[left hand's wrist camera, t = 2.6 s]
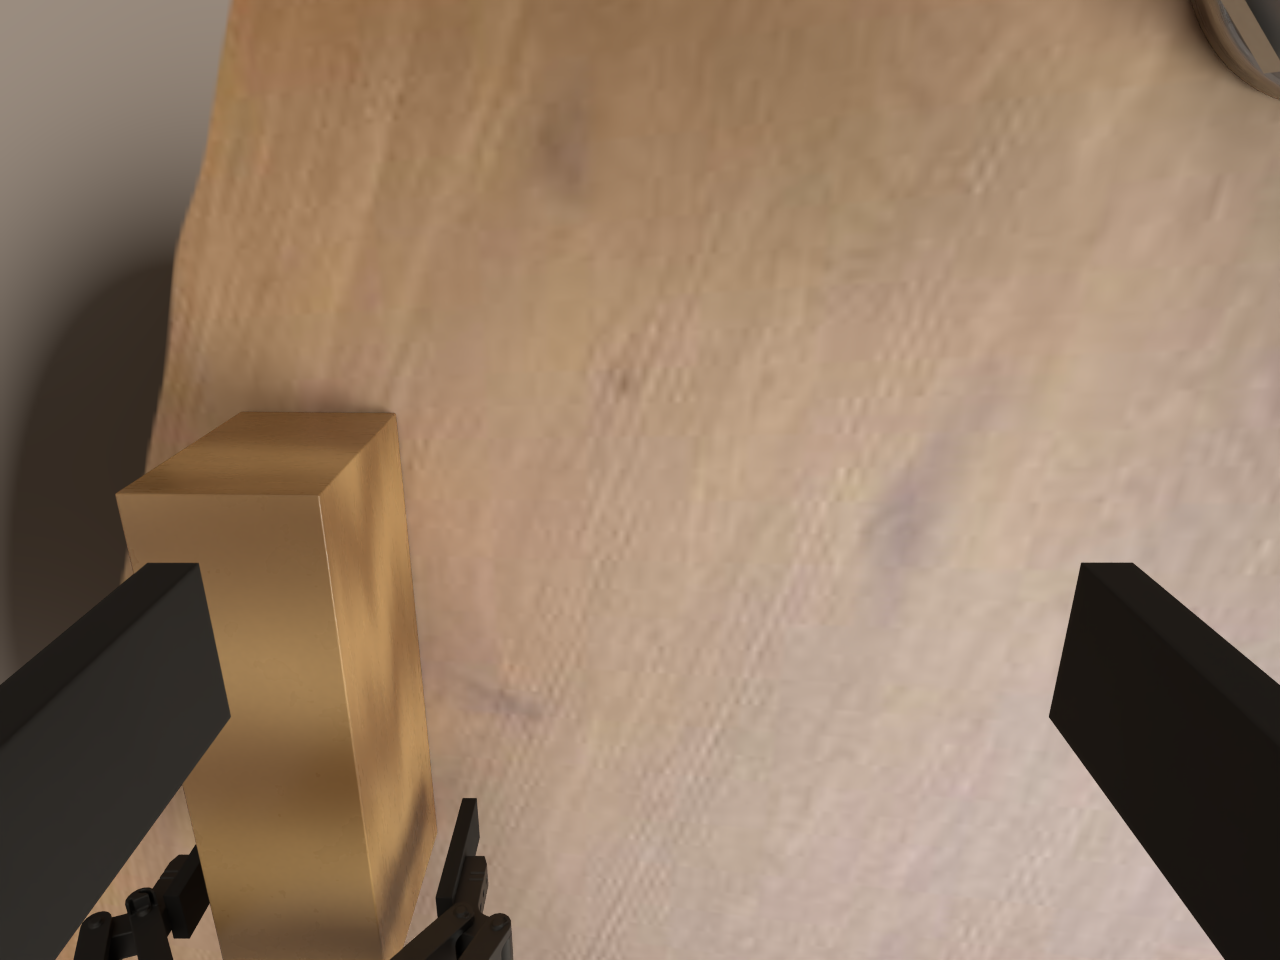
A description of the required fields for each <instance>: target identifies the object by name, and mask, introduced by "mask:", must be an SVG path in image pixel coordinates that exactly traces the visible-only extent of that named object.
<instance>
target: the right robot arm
mask: <svg viewBox="0 0 1280 960" xmlns="http://www.w3.org/2000/svg"><path fill="white" fill-rule="evenodd" d="M479 838H480V835H479V822H478V809H477V798H463V799H462V803H461V806H460V810H459V814H458V817H457V821H456V825H455V828H454V832H453V836H452V839H451V843H450V847H449V850H448V854H447V858H446V861H445V865H444V869H443V872H442V876H441V880H440V883H439V887H438V891H437V894H436V906H437V916H438V918H437V919H436V920H435V921H434V922H433V923H431V924H430V925H429V926H428V927H427V928H426V929H425V930H423V931H422V932H421V933H420V934H419V935H418V936H416V937H415V938H414V939H413V940H412V941H411V942H409V943H408V944H407V945H406V946H405V947H404V948H402V949H401V950H400V951H399V952H398V953H397V954H396V955H394V956H393V957H392V958H391V959H390V960H513V946H512V931H511V920H510V918H509V917H508V916H507V915H505V914H502V913H498V914H494V915H492V916H490V917H488V916H486V915H484V914H482V913H483V909H484V904H485V899H486V894H487V889H488V874H487V863H486V860H485V856H475V855H476V851H477V847H478V842H479ZM209 904H210V901H209V897H208V893H207V888H206V884H205V880H204V875H203V871H202V867H201V862H200V858H199V854H198V850H197V845H195V846H194V848H193V849H192V851H191V853H190V854H189V855H178V856H177V857H176V858H175V859H173V860H172V861H171V862H170V863H169V865H168V866H167V868H166V869H165V871H164V873H163V874H162V875H161V877H160V879H159V880H158V881H157V883H156V884H155V886H154V887H153V889H152V888H141V889H138V890H136V891H134V892H133V893H132V894H130V895H129V896H128V898H127V899H126V902H125V906H126V909H127V914H124V915H120V916H116V917H112V916H111V914H110V913H109V912H105V911H102V912H97V913H95V914H92V915H91V916H89V917H88V918H86V920H85V921H84V922H83V923H82V925H81V928H80V932H79V937H78V941H77V946H76V951H75V955H74V960H122V959H124V958H128V957H131V956H135V955H137V956H138V960H173V957H172V953H171V950H170V946H169V942H168V938H167V937H168V935H169V933H170V932H171V930H172V933H173V937H174V938H189V939H190V937H191V935H192V933H193V932H194V930H195V928H196V926H197V925H198V923H199V921H200V919H201V918H202V916H203V914H204V912H205V911H206V909H207V907H208V905H209Z"/></svg>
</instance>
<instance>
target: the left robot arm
mask: <svg viewBox="0 0 1280 960" xmlns="http://www.w3.org/2000/svg"><path fill="white" fill-rule="evenodd" d="M1191 2H1192V6H1193V9H1194V12H1195V14H1196V17H1197V19H1198V22H1199V24H1200V27H1201V29H1202V30H1203V32H1204V34H1205V36H1206V38H1207V40H1208V42H1209V43H1210V45H1211V46H1212V48H1213V49H1214V50H1215V52H1216V53H1217V55H1218V56H1219V57H1220V58H1221V60H1222V61H1223V62H1224V63H1225V64H1226V65H1227V66H1228V68H1229V69H1230V70H1232V71H1233V72H1234V73H1235V74H1236V75H1237V76H1238V77H1240V78H1241V79H1242V80H1243V81H1245V82H1246V83H1248V84H1249V85H1251V86H1252V87H1254V88H1255V89H1257V90H1259V91H1261V92H1263V93H1265V94H1267V95H1269V96H1271V97H1274V98H1276V99H1279V100H1280V0H1191ZM230 718H231V714H230V709H229V704H228V700H227V695H226V690H225V685H224V680H223V676H222V671H221V666H220V661H219V657H218V652H217V647H216V642H215V638H214V633H213V628H212V623H211V619H210V614H209V609H208V604H207V600H206V595H205V590H204V585H203V581H202V576H201V571H200V566H199V563H146V564H145V565H144V566H143V567H142V568H140V569H139V570H138V571H137V572H136V573H134V574H133V575H132V576H131V577H130V578H128V579H127V580H126V581H125V582H124V583H122V584H121V585H120V586H119V587H118V588H116V589H115V590H114V591H113V592H112V593H110V594H109V595H108V596H107V597H106V598H104V599H103V600H102V601H101V602H100V603H98V604H97V605H96V606H95V607H94V608H92V609H91V610H90V611H89V612H88V613H86V614H85V615H84V616H83V617H82V618H80V619H79V620H78V621H77V622H76V623H74V624H73V625H72V626H71V627H69V628H68V629H67V630H66V631H65V632H64V633H62V634H61V635H60V636H59V637H58V638H56V639H55V640H54V641H53V642H51V643H50V644H49V645H48V646H47V647H45V648H44V649H43V650H42V651H41V652H39V653H38V654H37V655H36V656H35V657H33V658H32V659H31V660H30V661H29V662H27V663H26V664H25V665H24V666H23V667H21V668H20V669H19V670H18V671H17V672H15V673H14V674H13V675H12V676H11V677H9V678H8V679H7V680H6V681H5V682H3V683H2V684H1V685H0V960H55V959H56V958H57V956H58V955H59V954H60V952H61V951H62V950H63V948H64V947H65V945H66V944H67V943H68V941H69V940H70V939H71V937H72V936H73V934H74V933H75V932H76V930H77V929H78V927H79V926H80V925H81V923H82V922H83V921H84V919H85V918H86V916H87V915H88V914H89V912H90V911H91V910H92V908H93V907H94V905H95V904H96V903H97V901H98V900H99V899H100V897H101V896H102V894H103V893H104V892H105V890H106V889H107V887H108V886H109V885H110V883H111V882H112V881H113V879H114V878H115V876H116V875H117V874H118V872H119V871H120V870H121V868H122V867H123V865H124V864H125V863H126V861H127V860H128V858H129V857H130V856H131V854H132V853H133V852H134V850H135V849H136V847H137V846H138V845H139V843H140V842H141V841H142V839H143V838H144V836H145V835H146V834H147V832H148V831H149V830H150V828H151V827H152V825H153V824H154V823H155V821H156V820H157V818H158V817H159V816H160V814H161V813H162V812H163V810H164V809H165V807H166V806H167V805H168V803H169V802H170V801H171V799H172V798H173V796H174V795H175V794H176V792H177V791H178V789H179V788H180V787H181V785H182V784H183V783H184V781H185V780H186V778H187V777H188V776H189V774H190V773H191V772H192V770H193V769H194V767H195V766H196V765H197V763H198V762H199V761H200V759H201V758H202V756H203V755H204V754H205V752H206V751H207V749H208V748H209V747H210V745H211V744H212V743H213V741H214V740H215V738H216V737H217V736H218V734H219V733H220V732H221V730H222V729H223V727H224V726H225V725H226V723H227V722H228V721H229V719H230ZM1049 718H1050V719H1051V721H1052V722H1053V723H1054V725H1055V726H1056V727H1057V729H1058V730H1059V732H1060V733H1061V734H1062V736H1063V737H1064V738H1065V740H1066V741H1067V743H1068V744H1069V745H1070V747H1071V748H1072V749H1073V751H1074V752H1075V754H1076V755H1077V756H1078V758H1079V759H1080V761H1081V762H1082V763H1083V765H1084V766H1085V767H1086V769H1087V770H1088V772H1089V773H1090V774H1091V776H1092V777H1093V778H1094V780H1095V781H1096V783H1097V784H1098V785H1099V787H1100V788H1101V789H1102V791H1103V792H1104V794H1105V795H1106V796H1107V798H1108V799H1109V801H1110V802H1111V803H1112V805H1113V806H1114V807H1115V809H1116V810H1117V812H1118V813H1119V814H1120V816H1121V817H1122V818H1123V820H1124V821H1125V823H1126V824H1127V825H1128V827H1129V828H1130V830H1131V831H1132V832H1133V834H1134V835H1135V836H1136V838H1137V839H1138V841H1139V842H1140V843H1141V845H1142V846H1143V847H1144V849H1145V850H1146V852H1147V853H1148V854H1149V856H1150V857H1151V858H1152V860H1153V861H1154V863H1155V864H1156V865H1157V867H1158V868H1159V870H1160V871H1161V872H1162V874H1163V875H1164V876H1165V878H1166V879H1167V881H1168V882H1169V883H1170V885H1171V886H1172V887H1173V889H1174V890H1175V892H1176V893H1177V894H1178V896H1179V897H1180V899H1181V900H1182V901H1183V903H1184V904H1185V905H1186V907H1187V908H1188V910H1189V911H1190V912H1191V914H1192V915H1193V916H1194V918H1195V919H1196V921H1197V922H1198V923H1199V925H1200V926H1201V927H1202V929H1203V930H1204V932H1205V933H1206V934H1207V936H1208V937H1209V939H1210V940H1211V941H1212V943H1213V944H1214V945H1215V947H1216V948H1217V950H1218V951H1219V952H1220V954H1221V955H1222V956H1223V958H1224V959H1225V960H1280V685H1279V684H1278V683H1277V682H1275V681H1274V680H1273V679H1272V678H1271V677H1269V676H1268V675H1267V674H1266V673H1265V672H1263V671H1262V670H1261V669H1260V668H1259V667H1257V666H1256V665H1255V664H1254V663H1253V662H1251V661H1250V660H1249V659H1248V658H1247V657H1245V656H1244V655H1243V654H1242V653H1241V652H1239V651H1238V650H1237V649H1236V648H1235V647H1233V646H1232V645H1231V644H1230V643H1229V642H1227V641H1226V640H1225V639H1224V638H1223V637H1221V636H1220V635H1219V634H1218V633H1217V632H1215V631H1214V630H1213V629H1212V628H1211V627H1209V626H1208V625H1207V624H1206V623H1205V622H1203V621H1202V620H1201V619H1200V618H1199V617H1197V616H1196V615H1195V614H1194V613H1193V612H1191V611H1190V610H1189V609H1188V608H1186V607H1185V606H1184V605H1183V604H1182V603H1180V602H1179V601H1178V600H1177V599H1176V598H1174V597H1173V596H1172V595H1171V594H1170V593H1168V592H1167V591H1166V590H1165V589H1164V588H1162V587H1161V586H1160V585H1159V584H1158V583H1156V582H1155V581H1154V580H1153V579H1152V578H1150V577H1149V576H1148V575H1147V574H1146V573H1144V572H1143V571H1142V570H1141V569H1140V568H1138V567H1137V566H1136V565H1135V564H1134V563H1081V566H1080V571H1079V576H1078V581H1077V585H1076V590H1075V595H1074V600H1073V604H1072V609H1071V614H1070V619H1069V623H1068V628H1067V633H1066V638H1065V642H1064V647H1063V652H1062V657H1061V661H1060V666H1059V671H1058V676H1057V680H1056V685H1055V690H1054V695H1053V699H1052V704H1051V709H1050V714H1049Z"/></svg>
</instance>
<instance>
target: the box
mask: <svg viewBox="0 0 1280 960" xmlns="http://www.w3.org/2000/svg"><path fill="white" fill-rule="evenodd" d="M116 500H117V504H118V509H119V513H120V517H121V521H122V526H123V530H124V534H125V539H126V543H127V548H128V552H129V556H130V560H131V565H132V569H133V573H136V572H137V571H138V570H139V569H140V568H142V567H143V566H144V565H145V564H146V563H199V566H200V571H201V576H202V581H203V585H204V590H205V595H206V600H207V604H208V609H209V614H210V619H211V623H212V628H213V633H214V638H215V642H216V647H217V652H218V657H219V661H220V666H221V671H222V676H223V680H224V685H225V690H226V695H227V700H228V704H229V709H230V714H231V718H230V719H229V721H228V722H227V723H226V725H225V726H224V727H223V729H222V730H221V732H220V733H219V734H218V736H217V737H216V738H215V740H214V741H213V743H212V744H211V745H210V747H209V748H208V749H207V751H206V752H205V754H204V755H203V756H202V758H201V759H200V761H199V762H198V763H197V765H196V766H195V767H194V769H193V770H192V772H191V773H190V774H189V776H188V777H187V778H186V780H185V781H184V783H183V784H182V785H183V789H184V793H185V798H186V802H187V806H188V811H189V815H190V819H191V824H192V828H193V832H194V837H195V841H196V845H197V850H198V854H199V858H200V862H201V867H202V871H203V875H204V880H205V884H206V888H207V893H208V897H209V901H210V906H211V910H212V914H213V919H214V923H215V927H216V932H217V936H218V940H219V944H220V949H221V953H222V957H223V960H390V959H391V958H392V957H393V956H394V955H396V954H397V953H398V952H399V951H400V950H401V949H402V948H403V946H404V942H405V939H406V936H407V932H408V929H409V925H410V922H411V919H412V915H413V912H414V909H415V905H416V902H417V899H418V895H419V892H420V889H421V885H422V882H423V878H424V875H425V872H426V868H427V865H428V862H429V858H430V855H431V852H432V848H433V845H434V841H435V838H436V835H437V827H436V816H435V806H434V796H433V786H432V776H431V766H430V756H429V746H428V735H427V725H426V715H425V705H424V695H423V685H422V675H421V665H420V654H419V644H418V634H417V624H416V614H415V604H414V594H413V584H412V574H411V563H410V553H409V543H408V533H407V523H406V513H405V503H404V493H403V482H402V472H401V462H400V452H399V442H398V432H397V422H396V414H395V413H313V412H240V413H239V414H237V415H236V416H234V417H233V418H231V419H230V420H228V421H226V422H225V423H223V424H222V425H220V426H219V427H217V428H216V429H214V430H213V431H211V432H210V433H208V434H206V435H205V436H203V437H202V438H200V439H199V440H197V441H196V442H194V443H193V444H191V445H190V446H188V447H186V448H185V449H183V450H182V451H180V452H179V453H177V454H176V455H174V456H173V457H171V458H170V459H168V460H167V461H165V462H163V463H162V464H160V465H159V466H157V467H156V468H154V469H153V470H151V471H150V472H148V473H147V474H145V475H143V476H142V477H140V478H139V479H137V480H136V481H134V482H133V483H131V484H130V485H128V486H127V487H125V488H124V489H122V490H120V491H119V492H117V493H116Z"/></svg>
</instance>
